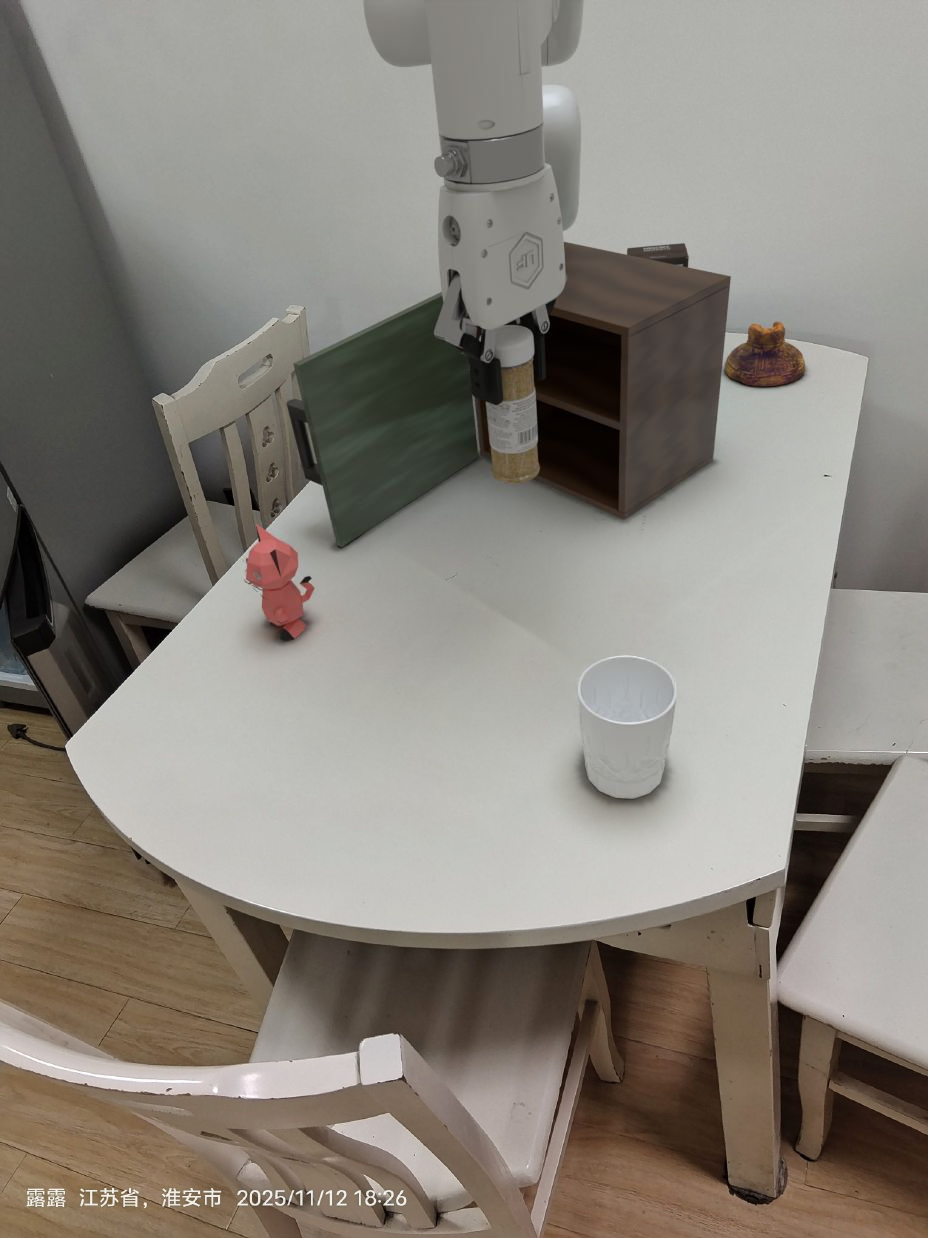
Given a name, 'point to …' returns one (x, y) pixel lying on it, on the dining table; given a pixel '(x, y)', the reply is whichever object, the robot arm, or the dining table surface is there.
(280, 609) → the cat figurine
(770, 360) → the bell
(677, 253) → the coffee box
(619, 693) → the white cup
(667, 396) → the cupboard
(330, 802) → the dining table surface
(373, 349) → the door
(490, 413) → the sprinkles bottle
